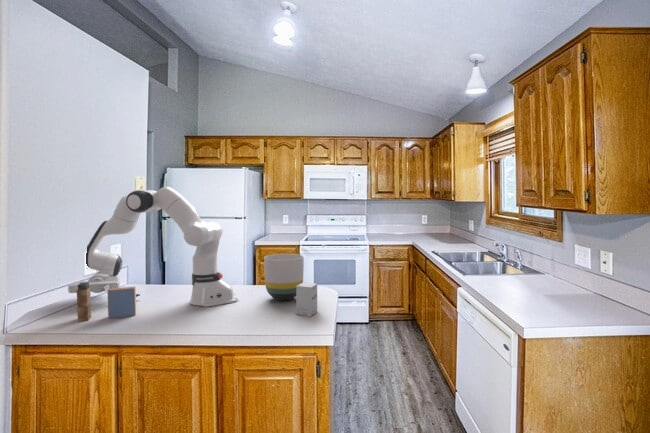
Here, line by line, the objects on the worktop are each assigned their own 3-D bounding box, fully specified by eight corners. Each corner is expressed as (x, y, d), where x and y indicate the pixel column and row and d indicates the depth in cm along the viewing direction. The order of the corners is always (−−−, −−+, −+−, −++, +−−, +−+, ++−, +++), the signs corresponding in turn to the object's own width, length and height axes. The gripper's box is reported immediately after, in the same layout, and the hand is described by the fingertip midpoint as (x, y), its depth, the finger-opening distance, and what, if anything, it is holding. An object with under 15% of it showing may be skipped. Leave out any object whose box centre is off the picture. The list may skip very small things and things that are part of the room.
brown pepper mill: (91, 316, 146) (89, 282, 146) (87, 320, 142) (86, 284, 141) (81, 317, 145) (80, 282, 144) (77, 321, 140) (76, 285, 140)
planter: (298, 292, 185) (298, 252, 184) (308, 302, 166) (308, 258, 165) (262, 295, 179) (261, 254, 178) (267, 306, 160) (267, 261, 159)
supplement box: (311, 316, 147) (311, 287, 146) (295, 314, 149) (295, 285, 149) (317, 311, 154) (317, 283, 153) (302, 309, 156) (302, 281, 156)
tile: (136, 313, 151) (135, 286, 150) (135, 315, 148) (134, 288, 147) (109, 316, 147) (108, 288, 146) (108, 318, 144) (107, 290, 143)
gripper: (72, 278, 163) (62, 285, 150) (122, 275, 171) (116, 281, 158) (73, 291, 163) (63, 299, 151) (122, 287, 171) (117, 295, 158)
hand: (91, 290), depth 154 cm, fingers open, 8 cm apart
